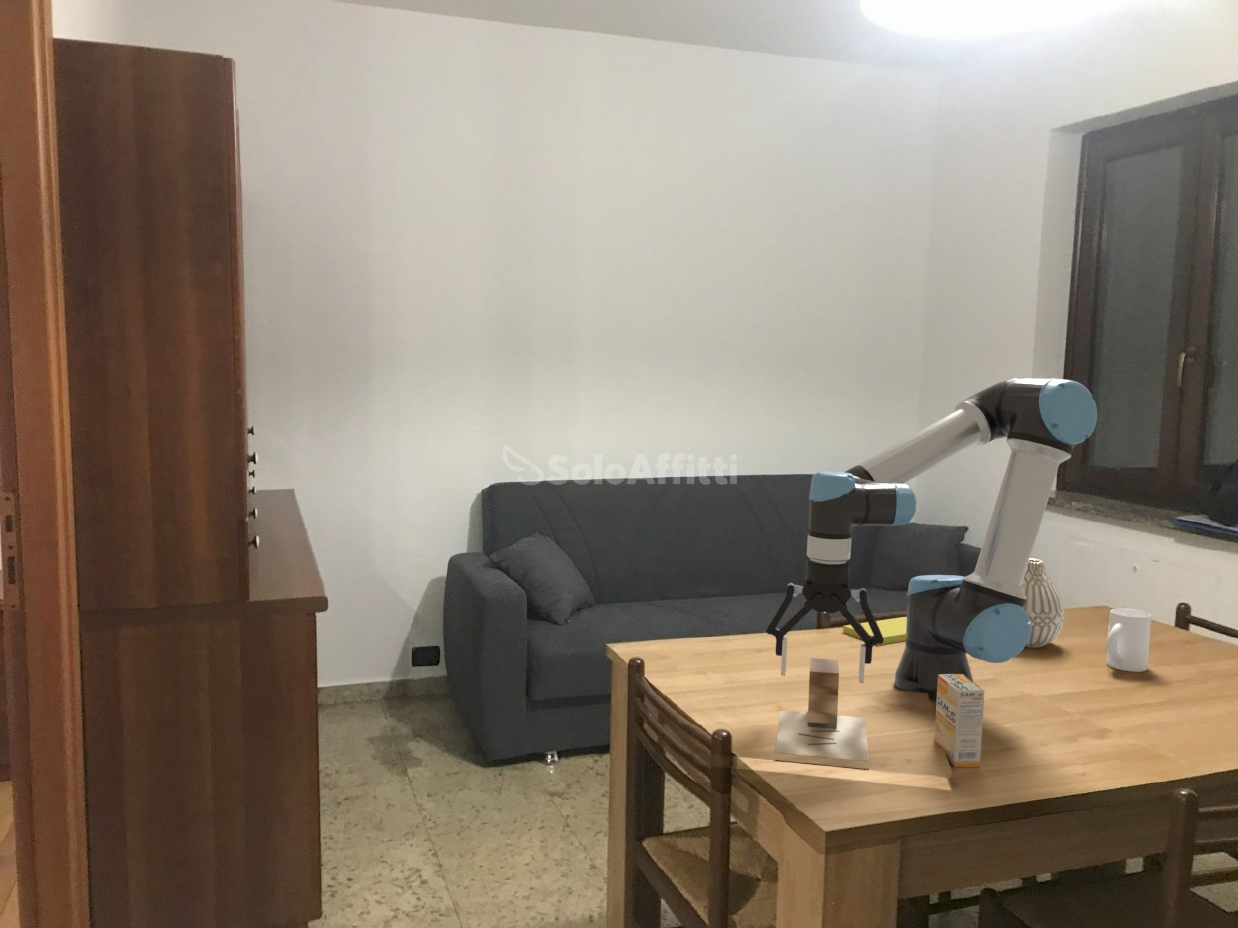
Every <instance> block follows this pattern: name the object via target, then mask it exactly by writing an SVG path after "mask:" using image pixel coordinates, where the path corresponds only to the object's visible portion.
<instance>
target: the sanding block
mask: <svg viewBox="0 0 1238 928" xmlns="http://www.w3.org/2000/svg"><path fill="white" fill-rule="evenodd" d="M809 659H810V660H809V679H808V682H809V683H808V706H807V708H808V709H807V710H808V711H807V713H808V727H818V728H829V729H837V715H838V707H839V706H838V704H839V679H840V678H839V677H840V667H839V666H840V663H839V659H832V658H831V659H830V658H829V659H827V658H818V657H817V658H815V657H810V658H809Z"/></svg>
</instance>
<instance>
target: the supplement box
mask: <svg viewBox="0 0 1238 928" xmlns="http://www.w3.org/2000/svg"><path fill="white" fill-rule="evenodd" d="M984 705H985V690H984V689H983V688H981V687H980V686H979V685H978V684H977V683H975V682H974V681H973V682H972V681H971V680H970V679H968V678H967V677H966V676H965V675H963V674H940V675H938V684H937V699H936V707H935V708H936V709H935V724H934V725H935V726H934V727H935V728H934V741H935V742H936V743H937V744H938V745H939V746H940V747H941V748H942V749H943V750H944V751H945V755H946V758H947V761H948V762H949V763H950V765H952V767H954V768H967V767H968V768H970V767H971V768H975V767H980V766H981V756H982V755H981V753H982V741H983V740H982V739H983V737H982V735H983V724H984V723H983V721H984V720H983V719H984Z"/></svg>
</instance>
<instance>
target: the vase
mask: <svg viewBox="0 0 1238 928" xmlns="http://www.w3.org/2000/svg"><path fill="white" fill-rule="evenodd" d="M1021 587H1022V590H1023V592H1024V594H1025V595H1026V597H1027V598H1026V602H1025V605H1024V610H1025V612H1026V613H1027V614H1028V616H1029V622H1031V633H1030V637H1029V640H1028V642H1027V644H1026V646H1025V647H1024V648H1029V649H1030V648H1031V649H1033V648H1035V649H1036V648H1043V647H1045V646H1047V645H1049V644H1051V643H1052V642H1053V641H1054V640H1055V639H1056V638H1057V637H1058V635H1059V634H1060V632H1061V631H1062V628H1063V625H1064V622H1065V610H1064V604H1063V601H1062V600H1063V599H1062V597H1061V595H1060V592H1059V591H1058V589H1057V586H1055V583H1054V582H1053V580H1052V579H1051V578H1050V577H1049V575H1048V573H1047V571H1046V567H1045V563H1044V561H1043V560H1042V559H1039V558H1032V557H1030V560H1029V563H1028V566H1027V569H1026V573H1025V576H1024V579H1023V582H1022V585H1021Z"/></svg>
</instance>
